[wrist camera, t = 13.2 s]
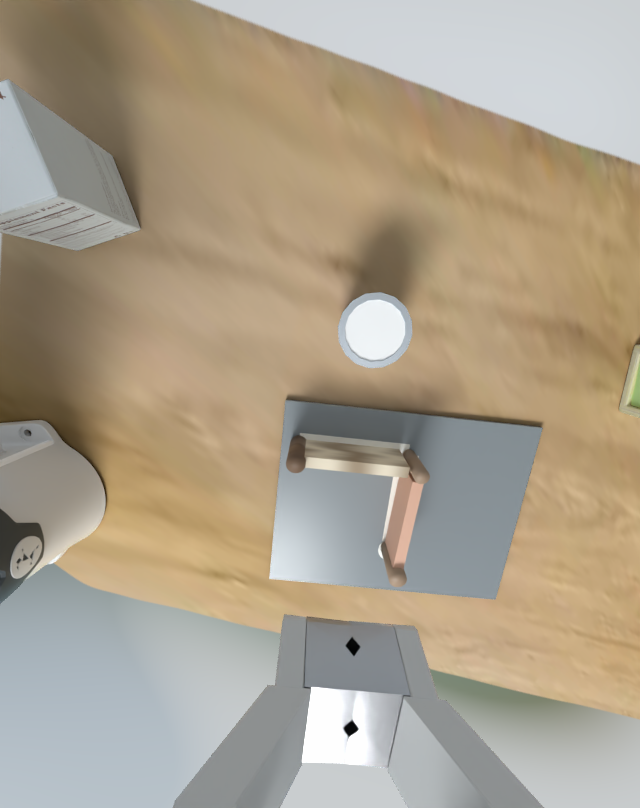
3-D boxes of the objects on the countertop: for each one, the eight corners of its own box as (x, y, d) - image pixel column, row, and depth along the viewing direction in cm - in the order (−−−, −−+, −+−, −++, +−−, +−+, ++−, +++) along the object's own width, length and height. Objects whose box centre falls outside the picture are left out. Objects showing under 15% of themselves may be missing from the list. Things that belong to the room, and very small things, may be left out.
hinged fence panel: (401, 448, 43) (414, 468, 37) (418, 450, 43) (433, 471, 37) (379, 553, 46) (387, 586, 41) (394, 555, 46) (405, 588, 41)
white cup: (359, 371, 41) (367, 383, 34) (321, 322, 40) (322, 325, 33) (409, 332, 40) (427, 337, 33) (372, 281, 39) (383, 275, 32)
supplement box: (45, 177, 36) (-94, 109, 24) (114, 154, 36) (8, 72, 24) (77, 253, 38) (-37, 226, 26) (143, 232, 38) (58, 194, 25)
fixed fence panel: (289, 450, 43) (285, 472, 37) (291, 434, 42) (286, 453, 37) (396, 461, 43) (408, 484, 38) (399, 445, 43) (412, 466, 37)
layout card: (269, 575, 48) (269, 579, 47) (285, 399, 42) (285, 400, 41) (493, 596, 49) (495, 599, 48) (540, 426, 43) (542, 428, 42)
